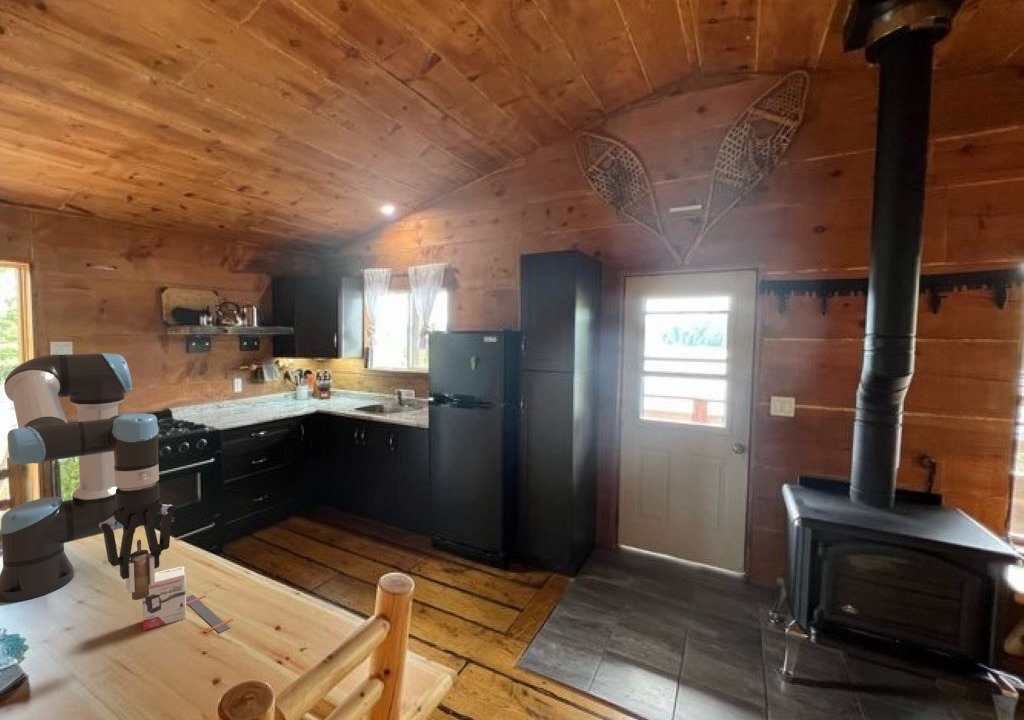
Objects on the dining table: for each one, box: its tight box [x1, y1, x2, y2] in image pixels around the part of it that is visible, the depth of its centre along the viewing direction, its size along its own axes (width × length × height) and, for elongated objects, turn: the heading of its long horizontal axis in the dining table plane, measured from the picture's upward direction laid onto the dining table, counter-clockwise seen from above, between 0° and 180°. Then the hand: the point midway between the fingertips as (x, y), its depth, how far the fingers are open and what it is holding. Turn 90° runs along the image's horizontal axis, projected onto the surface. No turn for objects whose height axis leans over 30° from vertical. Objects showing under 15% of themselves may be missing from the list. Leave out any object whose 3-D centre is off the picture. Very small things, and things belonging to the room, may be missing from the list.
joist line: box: [186, 594, 234, 634], centre depth 116 cm, size 22×6×1 cm, turn 55°
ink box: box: [142, 565, 187, 631], centre depth 113 cm, size 8×5×12 cm, turn 127°
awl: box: [130, 539, 149, 601], centre depth 101 cm, size 3×3×13 cm
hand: (140, 586), depth 102 cm, fingers closed on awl, 3 cm apart
